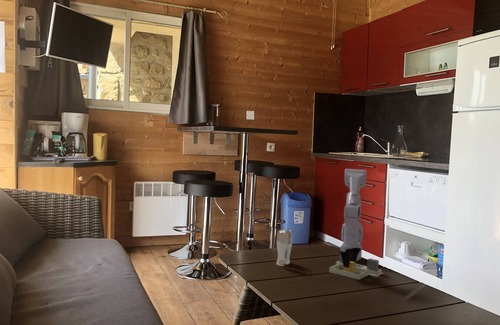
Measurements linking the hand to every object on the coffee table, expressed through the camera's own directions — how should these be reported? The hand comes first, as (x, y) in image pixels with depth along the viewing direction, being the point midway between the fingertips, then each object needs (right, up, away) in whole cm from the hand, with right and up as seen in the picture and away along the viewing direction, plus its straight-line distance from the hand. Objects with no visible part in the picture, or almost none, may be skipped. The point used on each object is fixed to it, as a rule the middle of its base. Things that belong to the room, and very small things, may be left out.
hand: (349, 265), depth 173 cm
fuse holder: (+5, -4, +7) cm, 10 cm away
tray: (0, -4, 0) cm, 4 cm away
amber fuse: (0, -4, 0) cm, 4 cm away
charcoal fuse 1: (0, -3, +11) cm, 12 cm away
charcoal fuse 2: (+11, -4, +3) cm, 12 cm away
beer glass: (-27, -3, +12) cm, 29 cm away
